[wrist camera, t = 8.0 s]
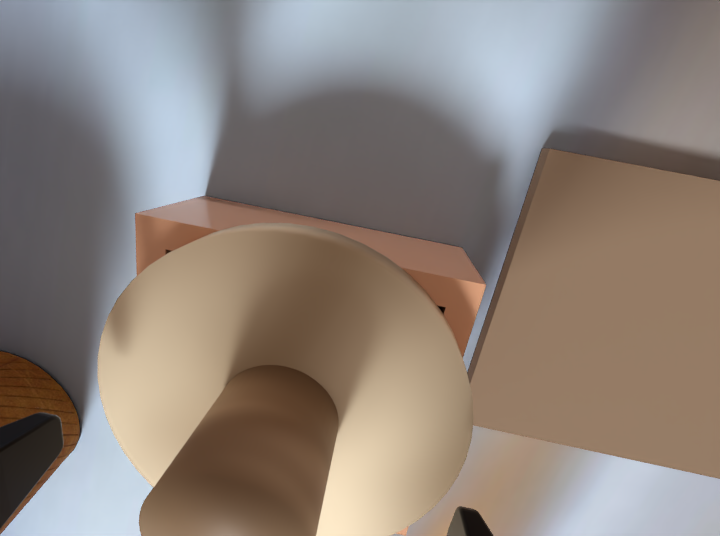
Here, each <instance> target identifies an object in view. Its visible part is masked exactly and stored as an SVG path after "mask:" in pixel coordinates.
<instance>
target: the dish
mask: <svg viewBox="0 0 720 536" xmlns="http://www.w3.org/2000/svg"><path fill="white" fill-rule="evenodd" d="M256 223H291V224H298V225H305V226H312V227H316V228H320V229H324V230H328V231H331V232H335V233H339V234H341V235H344V236H346V237H348V238H351V239H353V240H356V241H358V242H361V243H363V244H365V245H367V246H368V247H370V248H372V249H374V250H375V251H377V252H379V253H381V254H382V255H384V256H386V257H387V258H389V259H390V260H391V261H393V262H394V263H395V264H397V265H398V266H399V267H401V268H402V269H403V270H405V271H406V272H407V273H408V274H409V275H410V276H411V277H413V278H414V279H415V280H416V281H417V282H418V283H419V284H420V285H421V286H422V287H423V288H424V289H425V290H426V292H427V293H428V294H429V295H430V297H431V298H432V299H433V301H434V302H435V303H436V304H437V306H438V307H439V308H440V310H441V311H442V313H443V315H444V317H445V318H446V320H447V322H448V324H449V325H450V327H451V329H452V331H453V334H454V336H455V339H456V341H457V344H458V346H459V349H460V352H461V355H462V358H463V356H464V352H465V349H466V346H467V343H468V340H469V337H470V334H471V331H472V328H473V325H474V321H475V318H476V315H477V312H478V309H479V306H480V303H481V300H482V297H483V293H484V290H485V287H486V284H485V282H484V281H483V279H482V278H481V276H480V274H479V273H478V271H477V270H476V268H475V267H474V265H473V264H472V262H471V261H470V259H469V257H468V256H467V254H466V253H465V251H464V250H463V248H462V247H457V246H452V245H447V244H442V243H437V242H432V241H427V240H422V239H417V238H412V237H407V236H402V235H397V234H392V233H387V232H382V231H377V230H372V229H367V228H362V227H357V226H352V225H347V224H342V223H338V222H333V221H328V220H323V219H318V218H313V217H308V216H303V215H298V214H293V213H288V212H283V211H278V210H273V209H268V208H263V207H258V206H253V205H248V204H243V203H238V202H233V201H228V200H223V199H218V198H213V197H208V196H201V197H197V198H194V199H190V200H186V201H182V202H178V203H174V204H170V205H166V206H162V207H158V208H154V209H150V210H146V211H142V212H138V213H135V224H136V263H137V276H138V275H139V274H140V273H141V272H142V271H143V270H144V269H146V268H147V267H148V266H149V265H150V264H152V263H154V262H155V261H157V260H158V259H160V258H161V257H163V256H164V255H166V254H168V253H169V252H171V251H173V250H176V249H178V248H180V247H182V246H184V245H186V244H189V243H191V242H193V241H195V240H197V239H200V238H202V237H204V236H206V235H209V234H211V233H213V232H217V231H220V230H224V229H228V228H231V227H235V226H241V225H249V224H256ZM408 527H409V526H408ZM408 527H406V528H405V529H403V530H401V531H399V532H397V534H401V535H405V536H406V533H407V530H408Z"/></svg>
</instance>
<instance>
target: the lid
mask: <svg viewBox="0 0 720 536" xmlns="http://www.w3.org/2000/svg"><path fill="white" fill-rule="evenodd" d="M98 383H99V390H100V397H101V401H102V404H103V408H104V411H105V415H106V418H107V420H108V422H109V425H110V427H111V429H112V431H113V434H114V436H115V438H116V439H117V441H118V443H119V445H120V446H121V448H122V450H123V451H124V453H125V454H126V456H127V457H128V459H129V460H130V461H131V463H132V464H133V465H134V467H135V468H136V469H137V470H138V472H139V473H140V474H141V475H142V476H143V477H144V478H145V479H146V480H147V481H148V482H149V484H150V485H151V486H152V487H154V488H153V489H152V491H151V492H150V493H149V495H148V496H147V498H146V499H145V501H144V503H143V505H142V507H141V511H140V515H139V526H140V532H141V536H390V535H393V534H395V533H397V532H399V531H401V530H403V529H405V528H406V527H408V526H409V525H411V524H413V523H414V522H416V521H418V520H419V519H420V518H421V517H423V516H424V515H425V514H426V513H427V512H429V511H430V510H431V509H432V508H433V507H434V506H435V505H436V504H437V503H438V502H439V501H440V500H441V499H442V498H443V497H444V496H445V494H446V493H447V492H448V490H449V489H450V487H451V486H452V484H453V483H454V481H455V480H456V478H457V477H458V475H459V473H460V470H461V468H462V466H463V464H464V462H465V460H466V457H467V453H468V449H469V446H470V442H471V438H472V428H473V419H474V417H473V400H472V392H471V388H470V383H469V379H468V374H467V371H466V368H465V364H464V361H463V358H462V355H461V352H460V349H459V346H458V344H457V341H456V339H455V336H454V334H453V331H452V329H451V327H450V325H449V324H448V322H447V320H446V318H445V317H444V315H443V313H442V311H441V310H440V308H439V307H438V306H437V304H436V303H435V302H434V301H433V299H432V298H431V297H430V295H429V294H428V293H427V292H426V290H425V289H424V288H423V287H422V286H421V285H420V284H419V283H418V282H417V281H416V280H415V279H414V278H413V277H411V276H410V275H409V274H408V273H407V272H406V271H405V270H403V269H402V268H401V267H399V266H398V265H397V264H395V263H394V262H393V261H391V260H390V259H389V258H387V257H386V256H384V255H382V254H381V253H379V252H377V251H375V250H374V249H372V248H370V247H368V246H367V245H365V244H363V243H361V242H358V241H356V240H353V239H351V238H348V237H346V236H344V235H341V234H339V233H335V232H331V231H328V230H324V229H320V228H316V227H312V226H305V225H298V224H291V223H256V224H249V225H241V226H235V227H231V228H228V229H224V230H220V231H217V232H213V233H211V234H209V235H206V236H204V237H202V238H200V239H197V240H195V241H193V242H191V243H189V244H186V245H184V246H182V247H180V248H178V249H176V250H173V251H171V252H169V253H168V254H166V255H164V256H163V257H161V258H160V259H158V260H157V261H155V262H154V263H152V264H150V265H149V266H148V267H147V268H146V269H144V270H143V271H142V272H141V273H140V274H139V275H138V276H137V277H136V278H134V279H133V280H132V281H131V282H130V284H129V285H128V286H127V288H126V289H125V290H124V291H123V293H122V294H121V295H120V296H119V298H118V299H117V301H116V303H115V305H114V307H113V308H112V310H111V312H110V314H109V316H108V318H107V321H106V324H105V327H104V330H103V333H102V336H101V340H100V346H99V352H98Z"/></svg>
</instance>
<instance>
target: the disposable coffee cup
mask: <svg viewBox="0 0 720 536" xmlns="http://www.w3.org/2000/svg"><path fill="white" fill-rule="evenodd" d="M39 412H44V413H49V414H53V415H57V416H59V417H60V419H61V423H62V432H63V440H64V444H63V448H62V451H61V452H60V454H59V456H58V457H57V458H56V460H55V461H54V462H53V463H52V465H51V466H50V467H49V469H48V470H47V471H46V472H45V474H44V475H43V476H42V477H41V479H40V480H39V481H38V483H37V484H36V485H35V486H34V488H33V489H32V490H31V491H30V493H29V494H28V495H27V497H26V498H25V499H24V500H23V502H22V503H21V504H20V505H19V507H18V508H17V509H16V511H15V512H14V513H13V514H12V516H11V517H10V518H9V519H8V520H7V522H6V523H5V524H4V525H3V526H2V528H1V529H0V534H1V533H2V532H3V531H4V530H5V528H6V527H7V526H8V525H9V524H10V522H11V521H12V520H13V519H14V518H15V517H16V516H17V514H18V513H19V512H20V511H21V510H22V509H23V507H24V506H25V505H26V504H27V503H28V502H29V501H30V499H31V498H32V497H33V496H34V495H35V494H36V492H37V491H38V490H39V489H40V488H41V487H42V485H43V484H44V483H45V482H46V481H47V480H48V478H49V477H50V476H51V475H52V474H53V473H54V471H55V470H56V469H57V468H58V467H59V466H60V464H61V463H62V462H63V461H64V460H65V459H66V458H67V456H68V455H69V454H70V453H71V452H72V451H73V450H74V449H75V446H76V444H77V442H78V439H79V434H80V426H79V419H78V416H77V412H76V409H75V407H74V405H73V403H72V401H71V400H70V398H69V396H68V395H67V394H66V392H65V391H64V390H63V388H62V387H61V386H60V385H59V384H58V383H57V382H56V381H55V380H54V379H53V378H52V377H51V376H50V375H49V374H48V373H46V372H45V371H44V370H42V369H41V368H40V367H38V366H36V365H35V364H33V363H31V362H29V361H28V360H26V359H23V358H21V357H18V356H15V355H13V354H10V353H6V352H2V351H0V427H2V426H4V425H7V424H9V423H12V422H15V421H17V420H20V419H22V418H25V417H27V416H30V415H33V414H35V413H39Z"/></svg>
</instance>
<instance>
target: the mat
mask: <svg viewBox="0 0 720 536" xmlns="http://www.w3.org/2000/svg"><path fill="white" fill-rule="evenodd" d="M467 374H468V379H469V383H470V388H471V392H472V400H473V417H474V419H473V425H475V426H479V427H484V428H488V429H493V430H498V431H502V432H507V433H511V434H516V435H521V436H525V437H530V438H534V439H539V440H544V441H548V442H553V443H558V444H562V445H567V446H571V447H576V448H581V449H585V450H590V451H594V452H599V453H604V454H608V455H613V456H617V457H622V458H627V459H631V460H636V461H640V462H645V463H650V464H654V465H659V466H664V467H668V468H673V469H677V470H682V471H687V472H691V473H696V474H700V475H705V476H710V477H714V478H719V479H720V181H718V180H713V179H707V178H702V177H697V176H692V175H686V174H681V173H676V172H671V171H665V170H660V169H655V168H650V167H644V166H639V165H634V164H629V163H623V162H618V161H613V160H608V159H602V158H597V157H592V156H587V155H581V154H576V153H571V152H566V151H560V150H555V149H548V148H542V150H541V153H540V156H539V159H538V162H537V165H536V168H535V171H534V174H533V177H532V180H531V183H530V186H529V189H528V192H527V195H526V198H525V201H524V204H523V207H522V210H521V213H520V216H519V219H518V222H517V225H516V228H515V231H514V234H513V237H512V240H511V243H510V246H509V249H508V252H507V255H506V259H505V262H504V265H503V268H502V271H501V274H500V277H499V280H498V283H497V286H496V289H495V292H494V295H493V298H492V301H491V304H490V307H489V310H488V313H487V316H486V319H485V322H484V325H483V328H482V331H481V334H480V337H479V340H478V343H477V346H476V349H475V352H474V355H473V358H472V361H471V364H470V367H469V370H468V373H467Z"/></svg>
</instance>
